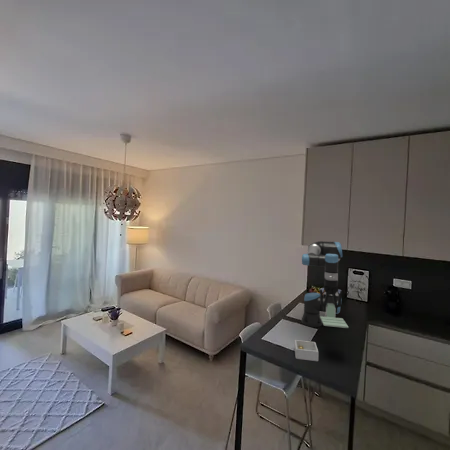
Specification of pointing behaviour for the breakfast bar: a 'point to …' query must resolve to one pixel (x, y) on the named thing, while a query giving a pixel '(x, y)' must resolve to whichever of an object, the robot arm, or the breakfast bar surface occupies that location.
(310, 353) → the tub
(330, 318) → the green stepped block
